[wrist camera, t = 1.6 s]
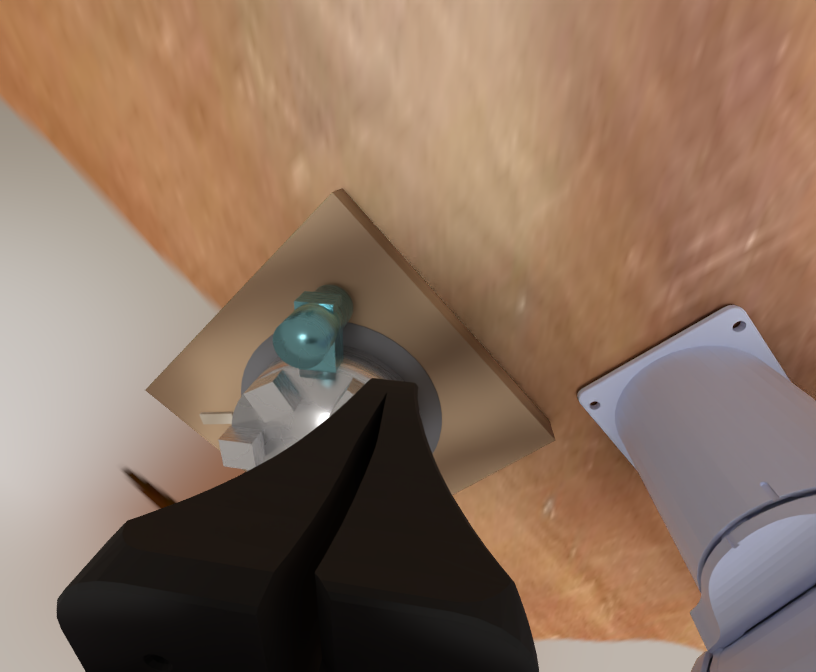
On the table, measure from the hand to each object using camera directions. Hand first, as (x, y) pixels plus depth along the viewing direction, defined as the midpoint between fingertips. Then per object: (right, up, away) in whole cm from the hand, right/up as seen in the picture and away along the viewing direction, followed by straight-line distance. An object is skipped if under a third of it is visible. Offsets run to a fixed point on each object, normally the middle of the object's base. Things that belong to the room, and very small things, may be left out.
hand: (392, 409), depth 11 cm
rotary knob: (-3, -1, +9) cm, 10 cm away
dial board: (-3, -1, +12) cm, 12 cm away
